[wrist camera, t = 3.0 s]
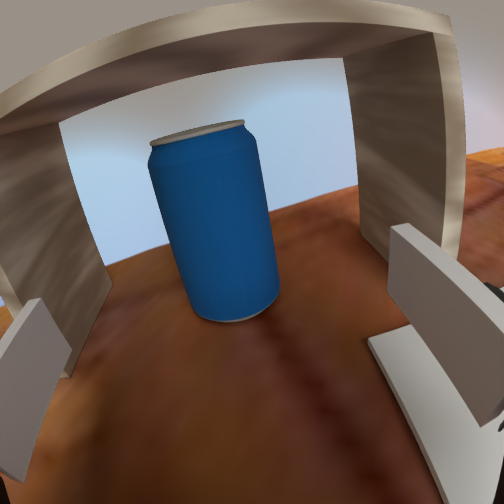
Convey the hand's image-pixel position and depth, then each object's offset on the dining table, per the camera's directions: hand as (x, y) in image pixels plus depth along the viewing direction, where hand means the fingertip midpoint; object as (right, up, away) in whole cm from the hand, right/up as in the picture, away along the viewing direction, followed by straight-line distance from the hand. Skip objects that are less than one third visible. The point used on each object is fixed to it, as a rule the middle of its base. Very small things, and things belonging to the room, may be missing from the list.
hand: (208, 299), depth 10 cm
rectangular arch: (0, -2, +12) cm, 12 cm away
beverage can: (0, -2, +12) cm, 12 cm away
